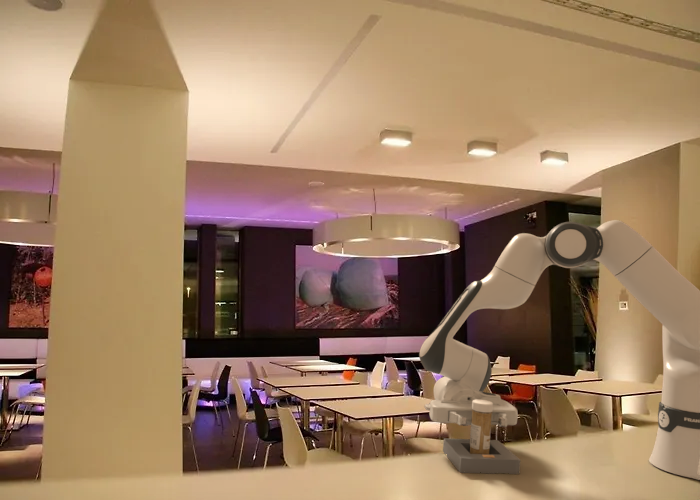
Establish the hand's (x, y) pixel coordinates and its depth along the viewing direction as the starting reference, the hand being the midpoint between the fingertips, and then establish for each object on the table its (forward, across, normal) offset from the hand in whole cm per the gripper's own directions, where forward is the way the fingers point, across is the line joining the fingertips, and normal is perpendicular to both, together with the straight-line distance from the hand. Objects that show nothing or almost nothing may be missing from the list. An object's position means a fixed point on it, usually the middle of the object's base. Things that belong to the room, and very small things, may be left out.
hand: (483, 422), depth 132 cm
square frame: (-1, 0, +9) cm, 9 cm away
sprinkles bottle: (-1, 0, +9) cm, 9 cm away
